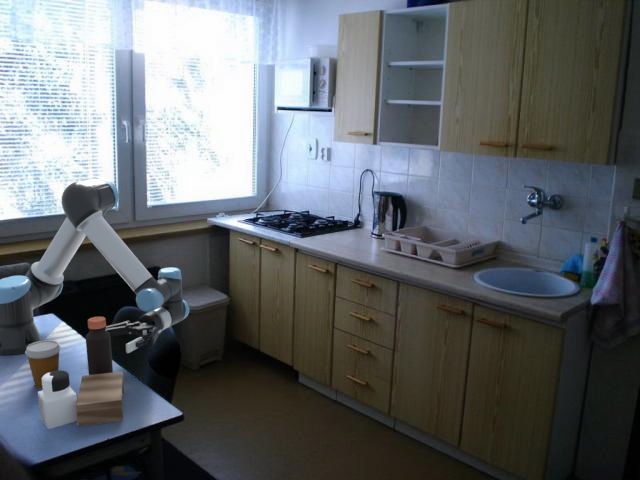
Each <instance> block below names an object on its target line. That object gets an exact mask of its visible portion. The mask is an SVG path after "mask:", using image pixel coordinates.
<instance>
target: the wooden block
mask: <svg viewBox="0 0 640 480" xmlns="http://www.w3.org/2000/svg"><path fill="white" fill-rule="evenodd" d="M124 394H125V384H124V371H113V373H104V374H94V375H89V374H86V375H81V379H80V384H79V390H78V395H77V404H76V408H77V419H78V421H77V427H78V428H79V427H85V426H94V425H102V424H110V423H116V422H123V421H124V413H123V395H124Z"/></svg>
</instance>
